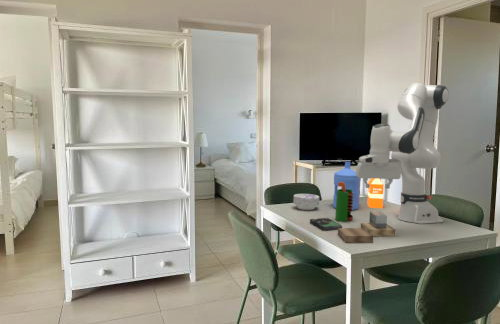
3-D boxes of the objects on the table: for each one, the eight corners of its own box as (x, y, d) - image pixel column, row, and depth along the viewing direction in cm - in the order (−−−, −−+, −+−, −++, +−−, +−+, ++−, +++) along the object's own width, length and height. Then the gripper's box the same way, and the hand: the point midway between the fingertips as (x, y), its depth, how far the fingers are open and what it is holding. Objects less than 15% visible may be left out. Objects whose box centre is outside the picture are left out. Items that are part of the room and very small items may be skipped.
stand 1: (363, 234, 175) (363, 228, 175) (372, 242, 163) (373, 235, 163) (337, 234, 175) (337, 228, 174) (345, 242, 163) (345, 236, 162)
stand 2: (384, 228, 185) (384, 222, 185) (395, 236, 173) (395, 229, 173) (360, 228, 184) (360, 222, 184) (369, 236, 173) (370, 229, 172)
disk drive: (309, 224, 194) (323, 232, 180) (309, 219, 194) (323, 226, 180) (327, 222, 197) (342, 230, 183) (327, 217, 197) (342, 224, 183)
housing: (379, 223, 183) (380, 211, 182) (386, 228, 175) (387, 215, 174) (369, 223, 182) (369, 211, 182) (375, 228, 174) (376, 215, 174)
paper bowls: (318, 206, 233) (318, 193, 232) (319, 212, 218) (320, 198, 217) (293, 205, 234) (293, 192, 234) (293, 211, 219) (293, 197, 218)
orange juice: (379, 205, 237) (381, 173, 235) (382, 208, 229) (384, 175, 226) (367, 204, 238) (368, 173, 236) (369, 207, 230) (370, 175, 228)
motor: (353, 222, 195) (354, 184, 193) (335, 221, 197) (336, 183, 195) (351, 217, 205) (353, 181, 203) (335, 216, 207) (336, 180, 205)
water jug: (357, 205, 236) (359, 160, 233) (361, 211, 221) (363, 163, 218) (332, 204, 238) (333, 160, 235) (333, 210, 223) (335, 162, 220)
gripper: (398, 158, 179) (396, 187, 181) (355, 157, 179) (354, 186, 181) (404, 160, 173) (402, 189, 175) (359, 158, 173) (358, 188, 174)
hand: (377, 188), depth 178 cm, fingers open, 8 cm apart
